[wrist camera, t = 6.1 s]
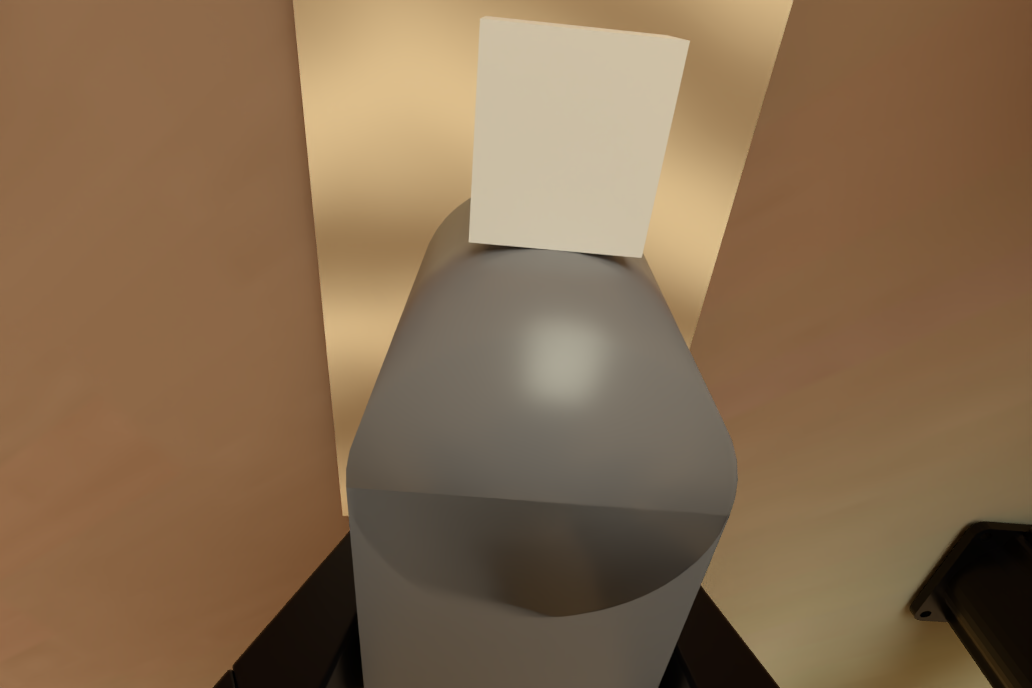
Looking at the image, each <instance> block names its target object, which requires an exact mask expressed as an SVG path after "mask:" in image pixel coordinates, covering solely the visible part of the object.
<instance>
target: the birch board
mask: <svg viewBox="0 0 1032 688" xmlns="http://www.w3.org/2000/svg"><path fill="white" fill-rule="evenodd" d="M792 3H793V0H293V8H294V18H295V29H296V39H297V49H298V60H299V70H300V80H301V91H302V101H303V111H304V121H305V132H306V142H307V152H308V163H309V173H310V183H311V194H312V204H313V214H314V225H315V235H316V245H317V256H318V266H319V276H320V287H321V297H322V307H323V318H324V328H325V338H326V349H327V359H328V369H329V380H330V390H331V400H332V411H333V421H334V431H335V441H336V452H337V462H338V472H339V483H340V493H341V503H342V514H343V516H349V515H348V504H347V492H346V467H347V461H348V456H349V451H350V448H351V445H352V443H353V440H354V437H355V435H356V432H357V430H358V427H359V424H360V422H361V419H362V416H363V414H364V411H365V409H366V406H367V403H368V401H369V398H370V396H371V393H372V390H373V388H374V385H375V383H376V380H377V377H378V375H379V372H380V370H381V367H382V364H383V362H384V359H385V357H386V354H387V351H388V349H389V346H390V344H391V341H392V338H393V336H394V333H395V331H396V328H397V325H398V323H399V320H400V318H401V315H402V312H403V310H404V307H405V305H406V302H407V299H408V297H409V294H410V292H411V289H412V286H413V284H414V281H415V279H416V276H417V273H418V271H419V268H420V266H421V263H422V260H423V258H424V255H425V253H426V250H427V247H428V245H429V242H430V241H431V239H432V237H433V235H434V234H435V232H436V230H437V229H438V227H439V226H440V225H441V224H442V222H443V221H444V220H445V218H446V217H447V216H448V215H449V214H451V213H452V212H453V211H454V210H455V209H456V208H457V207H458V206H459V205H461V204H462V203H464V202H465V201H466V200H468V199H469V198H471V185H472V166H473V146H474V126H475V107H476V87H477V68H478V48H479V28H480V18H482V17H485V16H492V17H501V18H510V19H520V20H529V21H539V22H548V23H557V24H567V25H576V26H586V27H595V28H604V29H614V30H623V31H633V32H642V33H651V34H661V35H668V36H673V37H677V38H681V39H685V40H689V41H690V43H689V48H688V52H687V57H686V61H685V66H684V70H683V75H682V79H681V84H680V88H679V93H678V97H677V102H676V106H675V111H674V115H673V119H672V124H671V128H670V133H669V137H668V142H667V146H666V151H665V155H664V160H663V164H662V169H661V173H660V178H659V182H658V187H657V191H656V196H655V200H654V205H653V209H652V214H651V218H650V223H649V227H648V232H647V236H646V241H645V245H644V250H643V254H644V256H645V258H646V260H647V262H648V264H649V267H650V269H651V271H652V273H653V275H654V277H655V279H656V281H657V283H658V285H659V288H660V290H661V292H662V294H663V296H664V298H665V300H666V302H667V304H668V306H669V309H670V311H671V313H672V315H673V317H674V319H675V321H676V323H677V325H678V327H679V330H680V332H681V334H682V336H683V338H684V340H685V342H686V344H687V346H688V348H689V349H690V345H691V342H692V339H693V335H694V332H695V329H696V325H697V322H698V319H699V315H700V312H701V309H702V305H703V302H704V298H705V295H706V292H707V288H708V285H709V282H710V278H711V275H712V272H713V268H714V265H715V261H716V258H717V255H718V251H719V248H720V245H721V241H722V238H723V235H724V231H725V228H726V225H727V221H728V218H729V214H730V211H731V208H732V204H733V201H734V198H735V194H736V191H737V188H738V184H739V181H740V177H741V174H742V171H743V167H744V164H745V161H746V157H747V154H748V151H749V147H750V144H751V141H752V137H753V134H754V130H755V127H756V124H757V120H758V117H759V114H760V110H761V107H762V104H763V100H764V97H765V93H766V90H767V87H768V83H769V80H770V77H771V73H772V70H773V67H774V63H775V60H776V57H777V53H778V50H779V46H780V43H781V40H782V36H783V33H784V30H785V26H786V23H787V20H788V16H789V13H790V9H791V6H792Z"/></svg>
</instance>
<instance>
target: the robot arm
mask: <svg viewBox="0 0 1032 688" xmlns="http://www.w3.org/2000/svg"><path fill="white" fill-rule="evenodd" d="M910 611H911V612H912V614H913V615H914V617H915V618H916V619H917V620H922V621H938V622H948V623H949V624H950V626H951V627H952V629H953V630H954V632H955V633H956V635H957V636H958V638H959V639H960V640H961V642H962V643H963V645H964V646H965V648H966V649H967V651H968V652H969V654H970V655H971V657H972V658H973V659H974V661H975V662H976V664H977V665H978V667H979V668H980V670H981V671H982V673H983V674H984V675H985V677H986V678H987V680H988V681H989V683H990V684H991V686H992V687H993V688H1032V525H1023V524H1010V523H996V522H979V523H976V524H974V525H972V526H971V527H970V528H969V529H968V530H967V531H966V533H965V534H964V535H963V537H962V538H961V539H960V541H959V542H958V543H957V545H956V546H955V547H954V549H953V550H952V551H951V553H950V554H949V555H948V557H947V558H946V559H945V561H944V562H943V563H942V565H941V566H940V567H939V569H938V570H937V571H936V573H935V574H934V575H933V577H932V578H931V579H930V581H929V582H928V583H927V585H926V586H925V587H924V589H923V590H922V591H921V593H920V594H919V595H918V597H917V598H916V599H915V601H914V602H913V604H912V605H911V606H910ZM213 688H364V682H363V671H362V660H361V649H360V638H359V626H358V615H357V604H356V593H355V582H354V571H353V559H352V548H351V537H350V531H349V532H348V533H347V535H346V536H345V537H344V538H343V539H342V540H341V541H340V543H339V544H338V545H337V546H336V547H335V548H334V549H333V551H332V552H331V553H330V554H329V555H328V556H327V558H326V559H325V560H324V561H323V562H322V563H321V564H320V566H319V567H318V568H317V569H316V570H315V571H314V572H313V574H312V575H311V576H310V577H309V578H308V579H307V580H306V582H305V583H304V584H303V585H302V586H301V587H300V589H299V590H298V591H297V592H296V593H295V594H294V595H293V597H292V598H291V599H290V600H289V601H288V602H287V603H286V605H285V606H284V607H283V608H282V609H281V610H280V611H279V613H278V614H277V615H276V616H275V617H274V618H273V620H272V621H271V622H270V623H269V624H268V625H267V626H266V628H265V629H264V630H263V631H262V632H261V633H260V634H259V636H258V637H257V638H256V639H255V640H254V641H253V642H252V644H251V645H250V646H249V647H248V648H247V649H246V650H245V652H244V653H243V654H242V655H241V656H240V657H239V659H238V660H237V661H236V662H235V663H234V664H233V670H228V671H227V672H226V673H225V674H224V675H223V677H222V678H221V679H220V680H219V681H218V682H217V683H216V685H215V686H214V687H213ZM658 688H780V687H779V686H778V685H777V683H776V682H775V681H774V680H773V678H772V677H771V676H770V674H769V673H768V672H767V671H766V669H765V668H764V667H763V665H762V664H761V663H760V662H759V660H758V659H757V658H756V656H755V655H754V654H753V652H752V651H751V650H750V649H749V647H748V646H747V645H746V643H745V642H744V641H743V640H742V638H741V637H740V636H739V634H738V633H737V632H736V630H735V629H734V628H733V627H732V625H731V624H730V623H729V621H728V620H727V619H726V618H725V616H724V615H723V614H722V612H721V611H720V610H719V608H718V607H717V606H716V605H715V603H714V602H713V601H712V599H711V598H710V597H709V596H708V594H707V593H706V592H705V590H704V589H703V588H702V586H701V585H700V588H699V590H698V593H697V595H696V597H695V600H694V602H693V605H692V607H691V609H690V612H689V614H688V617H687V619H686V621H685V624H684V626H683V629H682V631H681V633H680V636H679V638H678V641H677V643H676V646H675V648H674V650H673V653H672V655H671V658H670V660H669V662H668V665H667V667H666V670H665V672H664V674H663V677H662V679H661V682H660V684H659V686H658Z"/></svg>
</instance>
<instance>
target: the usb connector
mask: <svg viewBox="0 0 1032 688" xmlns="http://www.w3.org/2000/svg"><path fill="white" fill-rule="evenodd" d="M689 43H690V41H689V40H685V39H681V38H677V37H673V36H668V35H661V34H651V33H642V32H633V31H623V30H614V29H604V28H595V27H586V26H576V25H567V24H557V23H548V22H539V21H529V20H520V19H510V18H501V17H492V16H485V17H482V18H480V28H479V48H478V68H477V87H476V107H475V126H474V146H473V166H472V185H471V198H469V199H468V200H466V201H465V202H464V203H462V204H461V205H459V206H458V207H457V208H456V209H455V210H454V211H453V212H452V213H451V214H449V215H448V216H447V217H446V218H445V220H444V221H443V222H442V224H441V225H440V226H439V227H438V229H437V230H436V232H435V234H434V235H433V237H432V239H431V241H430V242H429V245H428V247H427V250H426V253H425V255H424V258H423V260H422V263H421V266H420V268H419V271H418V273H417V276H416V279H415V281H414V284H413V286H412V289H411V292H410V294H409V297H408V299H407V302H406V305H405V307H404V310H403V312H402V315H401V318H400V320H399V323H398V325H397V328H396V331H395V333H394V336H393V338H392V341H391V344H390V346H389V349H388V351H387V354H386V357H385V359H384V362H383V364H382V367H381V370H380V372H379V375H378V377H377V380H376V383H375V385H374V388H373V390H372V393H371V396H370V398H369V401H368V403H367V406H366V409H365V411H364V414H363V416H362V419H361V422H360V424H359V427H358V430H357V432H356V435H355V437H354V440H353V443H352V445H351V448H350V451H349V456H348V461H347V467H346V492H347V504H348V515H349V526H350V537H351V548H352V559H353V571H354V582H355V593H356V604H357V615H358V626H359V638H360V649H361V660H362V671H363V682H364V688H658V686H659V684H660V682H661V679H662V677H663V674H664V672H665V670H666V667H667V665H668V662H669V660H670V658H671V655H672V653H673V650H674V648H675V646H676V643H677V641H678V638H679V636H680V633H681V631H682V629H683V626H684V624H685V621H686V619H687V617H688V614H689V612H690V609H691V607H692V605H693V602H694V600H695V597H696V595H697V593H698V590H699V588H700V585H701V583H702V580H703V578H704V576H705V573H706V571H707V568H708V566H709V564H710V561H711V559H712V556H713V554H714V552H715V549H716V547H717V544H718V542H719V539H720V537H721V535H722V532H723V530H724V527H725V525H726V523H727V520H728V518H729V515H730V512H731V509H732V506H733V503H734V500H735V495H736V488H737V480H738V476H737V459H736V455H735V451H734V447H733V443H732V440H731V438H730V435H729V433H728V431H727V429H726V426H725V424H724V422H723V420H722V418H721V416H720V414H719V411H718V409H717V407H716V405H715V403H714V401H713V399H712V397H711V395H710V393H709V390H708V388H707V386H706V384H705V382H704V380H703V378H702V376H701V374H700V372H699V369H698V367H697V365H696V363H695V361H694V359H693V357H692V355H691V353H690V351H689V348H688V346H687V344H686V342H685V340H684V338H683V336H682V334H681V332H680V330H679V327H678V325H677V323H676V321H675V319H674V317H673V315H672V313H671V311H670V309H669V306H668V304H667V302H666V300H665V298H664V296H663V294H662V292H661V290H660V288H659V285H658V283H657V281H656V279H655V277H654V275H653V273H652V271H651V269H650V267H649V264H648V262H647V260H646V258H645V256H644V254H643V250H644V245H645V241H646V236H647V232H648V227H649V223H650V218H651V214H652V209H653V205H654V200H655V196H656V191H657V187H658V182H659V178H660V173H661V169H662V164H663V160H664V155H665V151H666V146H667V142H668V137H669V133H670V128H671V124H672V119H673V115H674V111H675V106H676V102H677V97H678V93H679V88H680V84H681V79H682V75H683V70H684V66H685V61H686V57H687V52H688V48H689Z"/></svg>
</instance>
